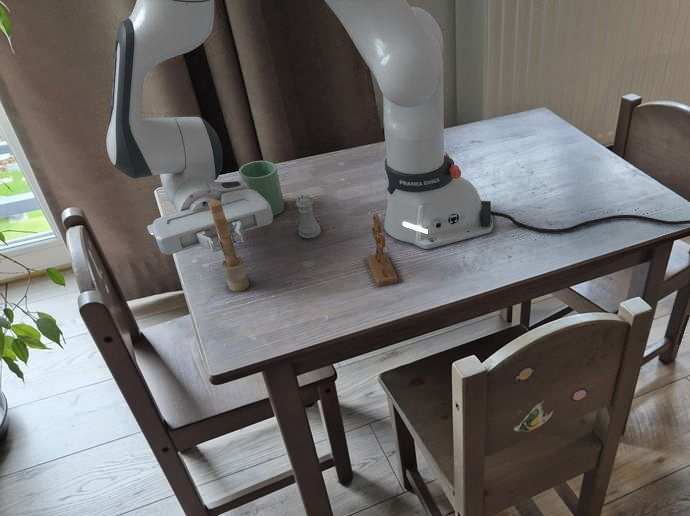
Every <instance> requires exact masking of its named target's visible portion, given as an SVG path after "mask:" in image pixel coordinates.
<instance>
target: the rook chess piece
mask: <svg viewBox="0 0 690 516" xmlns="http://www.w3.org/2000/svg"><path fill="white" fill-rule="evenodd" d="M313 203H314V202H313V199H311V197H310V196H309V195H307V194H305V195H300V196H297V198H296V201H295V205H296V207H298V209H297V211H298V213H299V220H300V221H299V224H298V226H297V230H298V235H299V237H301V238H303V239H306V240H310V239H314V238H317V237H319V235H320V234H321V231H322V230H321V226H320V223H319V222H318V221H317V220H316V219H315V217H314V213H313V209H314V208H313V207H312V205H313Z"/></svg>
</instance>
